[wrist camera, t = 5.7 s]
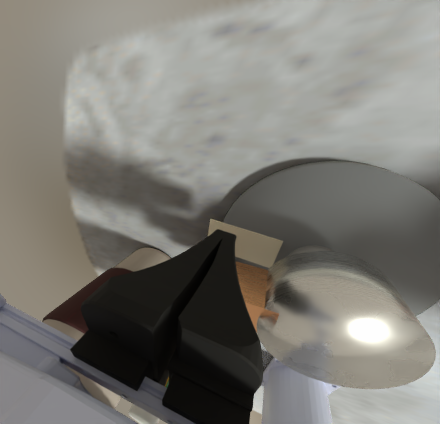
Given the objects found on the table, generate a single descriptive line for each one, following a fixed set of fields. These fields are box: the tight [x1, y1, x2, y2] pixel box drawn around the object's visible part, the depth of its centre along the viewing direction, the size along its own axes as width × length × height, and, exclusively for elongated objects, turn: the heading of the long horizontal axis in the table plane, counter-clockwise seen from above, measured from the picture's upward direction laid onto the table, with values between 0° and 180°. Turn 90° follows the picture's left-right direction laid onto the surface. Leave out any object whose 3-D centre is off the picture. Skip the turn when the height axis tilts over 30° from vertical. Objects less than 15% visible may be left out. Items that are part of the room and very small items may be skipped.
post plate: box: [208, 161, 440, 316], centre depth 13 cm, size 17×18×6 cm
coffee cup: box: [42, 248, 171, 409], centre depth 16 cm, size 10×10×15 cm
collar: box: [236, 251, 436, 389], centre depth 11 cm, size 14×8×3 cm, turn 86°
